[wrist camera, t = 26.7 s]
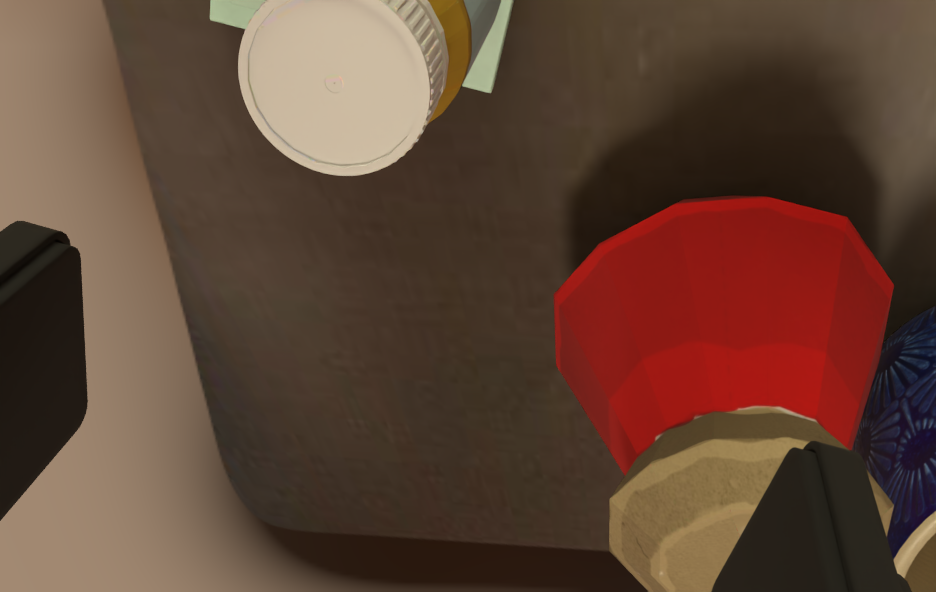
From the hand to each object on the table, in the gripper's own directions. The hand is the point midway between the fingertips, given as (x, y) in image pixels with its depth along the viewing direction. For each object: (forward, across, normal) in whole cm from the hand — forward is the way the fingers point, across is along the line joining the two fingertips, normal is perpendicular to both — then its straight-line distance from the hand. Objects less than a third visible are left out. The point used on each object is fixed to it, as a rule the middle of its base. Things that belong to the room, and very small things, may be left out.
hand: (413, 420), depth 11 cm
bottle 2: (+33, -10, +14) cm, 37 cm away
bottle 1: (+32, +6, +3) cm, 32 cm away
